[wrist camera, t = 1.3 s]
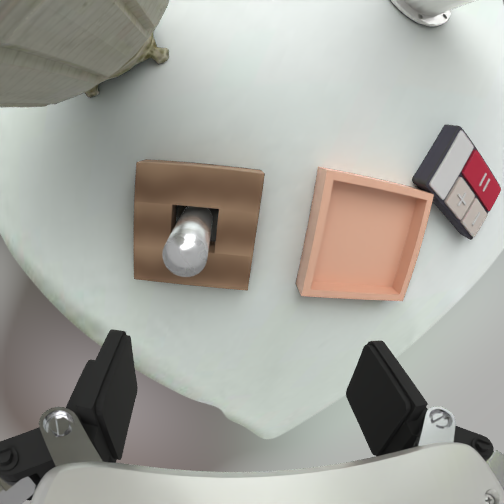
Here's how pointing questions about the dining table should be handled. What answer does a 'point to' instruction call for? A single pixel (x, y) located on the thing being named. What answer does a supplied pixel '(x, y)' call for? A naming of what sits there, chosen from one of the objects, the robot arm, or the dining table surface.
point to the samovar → (72, 46)
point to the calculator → (458, 180)
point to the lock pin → (189, 242)
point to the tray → (361, 237)
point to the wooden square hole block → (198, 195)
